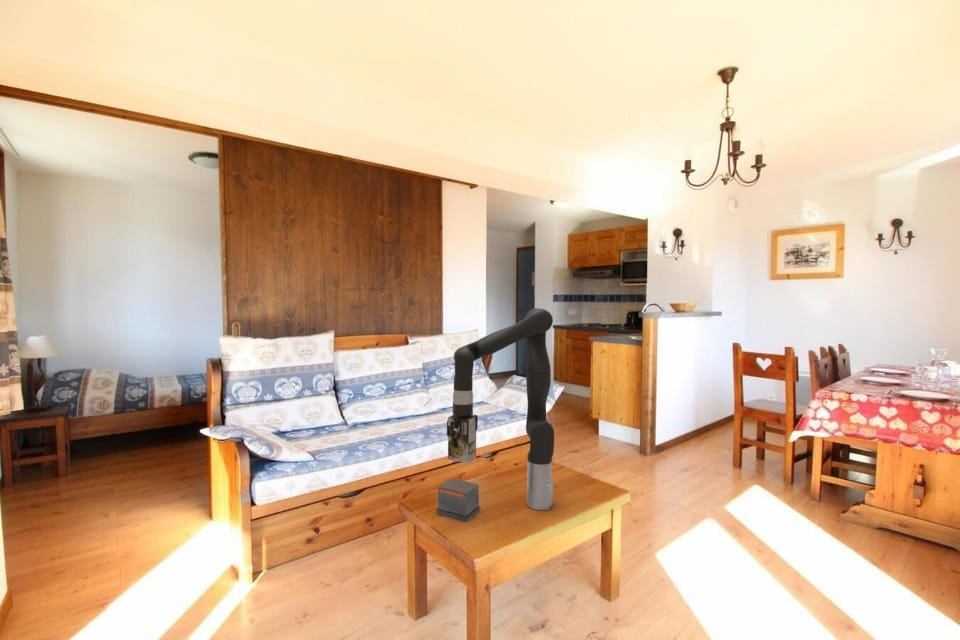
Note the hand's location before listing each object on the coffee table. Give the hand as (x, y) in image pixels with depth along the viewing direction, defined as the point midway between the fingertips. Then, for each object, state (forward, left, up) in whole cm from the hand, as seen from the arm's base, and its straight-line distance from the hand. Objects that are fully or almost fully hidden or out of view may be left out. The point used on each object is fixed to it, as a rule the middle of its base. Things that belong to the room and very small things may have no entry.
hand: (462, 445), depth 168 cm
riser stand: (0, +3, -24) cm, 24 cm away
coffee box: (0, 0, -6) cm, 6 cm away
